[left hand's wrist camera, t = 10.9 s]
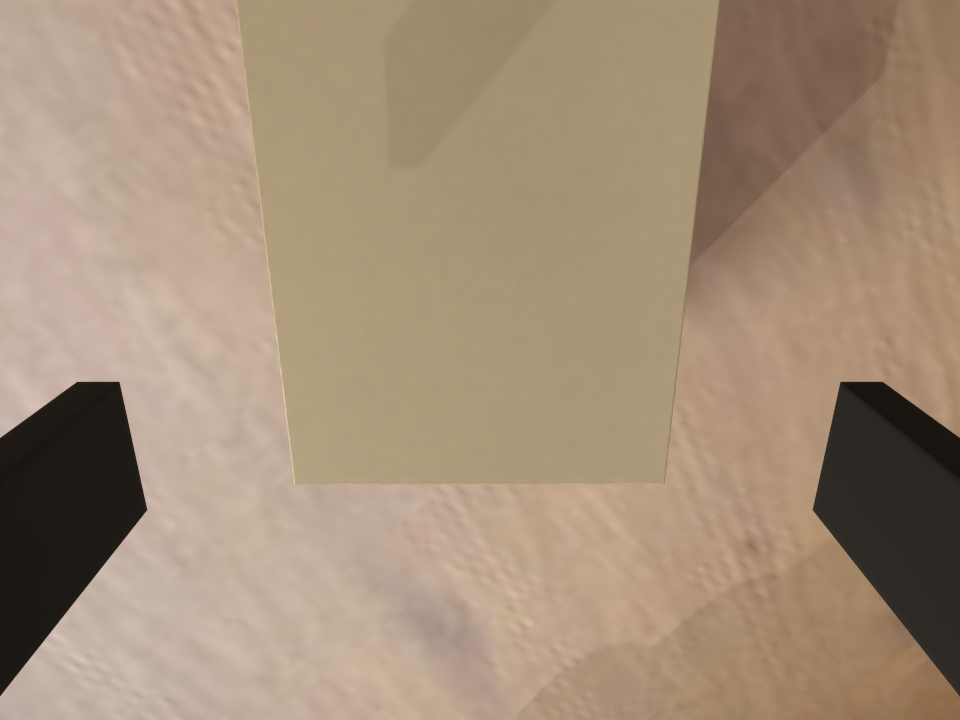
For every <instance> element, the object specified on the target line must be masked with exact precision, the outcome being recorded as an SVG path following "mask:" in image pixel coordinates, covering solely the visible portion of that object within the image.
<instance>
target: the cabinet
mask: <svg viewBox="0 0 960 720" xmlns="http://www.w3.org/2000/svg"><path fill="white" fill-rule="evenodd" d="M719 6H720V0H236V9H237V17H238V25H239V33H240V42H241V50H242V58H243V66H244V75H245V83H246V91H247V99H248V108H249V116H250V124H251V132H252V141H253V149H254V157H255V165H256V174H257V182H258V190H259V198H260V207H261V215H262V223H263V231H264V240H265V248H266V256H267V264H268V273H269V281H270V289H271V297H272V306H273V314H274V322H275V330H276V339H277V347H278V355H279V363H280V372H281V380H282V388H283V396H284V405H285V413H286V421H287V429H288V438H289V446H290V454H291V462H292V471H293V479H294V484H296V485H309V484H664V482H665V475H666V466H667V457H668V449H669V440H670V431H671V423H672V414H673V405H674V397H675V388H676V379H677V371H678V362H679V353H680V345H681V336H682V327H683V318H684V310H685V301H686V292H687V284H688V275H689V266H690V258H691V249H692V240H693V232H694V223H695V214H696V206H697V197H698V188H699V180H700V171H701V162H702V154H703V145H704V136H705V128H706V119H707V110H708V102H709V93H710V84H711V75H712V67H713V58H714V49H715V41H716V32H717V23H718V15H719Z"/></svg>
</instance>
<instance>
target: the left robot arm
mask: <svg viewBox="0 0 960 720" xmlns="http://www.w3.org/2000/svg"><path fill="white" fill-rule="evenodd" d="M146 511H147V507H146V502H145V498H144V493H143V488H142V484H141V479H140V475H139V470H138V465H137V461H136V456H135V452H134V447H133V442H132V438H131V433H130V429H129V424H128V419H127V415H126V410H125V405H124V401H123V396H122V392H121V387H120V382H77V383H75V384H74V385H72V386H71V387H70V388H68V389H67V390H66V391H64V392H63V393H61V394H60V395H59V396H57V397H56V398H55V399H53V400H52V401H50V402H49V403H48V404H46V405H45V406H44V407H42V408H41V409H39V410H38V411H37V412H35V413H34V414H33V415H31V416H30V417H28V418H27V419H26V420H24V421H23V422H22V423H20V424H19V425H17V426H16V427H15V428H13V429H12V430H11V431H9V432H8V433H6V434H5V435H4V436H2V437H1V438H0V696H1V694H2V693H3V692H4V691H5V689H6V688H7V687H8V686H9V684H10V683H11V682H12V680H13V679H14V678H15V677H16V675H17V674H18V673H19V672H20V670H21V669H22V668H23V667H24V665H25V664H26V663H27V661H28V660H29V659H30V658H31V656H32V655H33V654H34V653H35V651H36V650H37V649H38V648H39V646H40V645H41V644H42V643H43V641H44V640H45V639H46V637H47V636H48V635H49V634H50V632H51V631H52V630H53V629H54V627H55V626H56V625H57V624H58V622H59V621H60V620H61V618H62V617H63V616H64V615H65V613H66V612H67V611H68V610H69V608H70V607H71V606H72V605H73V603H74V602H75V601H76V599H77V598H78V597H79V596H80V594H81V593H82V592H83V591H84V589H85V588H86V587H87V586H88V584H89V583H90V582H91V580H92V579H93V578H94V577H95V575H96V574H97V573H98V572H99V570H100V569H101V568H102V567H103V565H104V564H105V563H106V561H107V560H108V559H109V558H110V556H111V555H112V554H113V553H114V551H115V550H116V549H117V548H118V546H119V545H120V544H121V543H122V541H123V540H124V539H125V537H126V536H127V535H128V534H129V532H130V531H131V530H132V529H133V527H134V526H135V525H136V524H137V522H138V521H139V520H140V518H141V517H142V516H143V515H144V513H145V512H146ZM813 511H814V512H815V513H816V515H817V516H818V517H819V518H820V520H821V521H822V522H823V524H824V525H825V526H826V527H827V529H828V530H829V531H830V532H831V534H832V535H833V536H834V537H835V539H836V540H837V541H838V543H839V544H840V545H841V546H842V548H843V549H844V550H845V551H846V553H847V554H848V555H849V556H850V558H851V559H852V560H853V561H854V563H855V564H856V565H857V567H858V568H859V569H860V570H861V572H862V573H863V574H864V575H865V577H866V578H867V579H868V580H869V582H870V583H871V584H872V586H873V587H874V588H875V589H876V591H877V592H878V593H879V594H880V596H881V597H882V598H883V599H884V601H885V602H886V603H887V605H888V606H889V607H890V608H891V610H892V611H893V612H894V613H895V615H896V616H897V617H898V618H899V620H900V621H901V622H902V624H903V625H904V626H905V627H906V629H907V630H908V631H909V632H910V634H911V635H912V636H913V637H914V639H915V640H916V641H917V643H918V644H919V645H920V646H921V648H922V649H923V650H924V651H925V653H926V654H927V655H928V656H929V658H930V659H931V660H932V662H933V663H934V664H935V665H936V667H937V668H938V669H939V670H940V672H941V673H942V674H943V675H944V677H945V678H946V679H947V680H948V682H949V683H950V684H951V686H952V687H953V688H954V689H955V691H956V692H957V693H958V694H959V696H960V438H959V437H958V436H956V435H955V434H954V433H952V432H951V431H949V430H948V429H947V428H945V427H944V426H943V425H941V424H940V423H938V422H937V421H936V420H934V419H933V418H932V417H930V416H929V415H927V414H926V413H925V412H923V411H922V410H921V409H919V408H918V407H916V406H915V405H914V404H912V403H911V402H910V401H908V400H907V399H905V398H904V397H903V396H901V395H900V394H899V393H897V392H896V391H894V390H893V389H892V388H890V387H889V386H888V385H886V384H885V383H883V382H840V387H839V392H838V396H837V401H836V405H835V410H834V415H833V419H832V424H831V429H830V433H829V438H828V442H827V447H826V452H825V456H824V461H823V465H822V470H821V475H820V479H819V484H818V488H817V493H816V498H815V502H814V507H813Z"/></svg>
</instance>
